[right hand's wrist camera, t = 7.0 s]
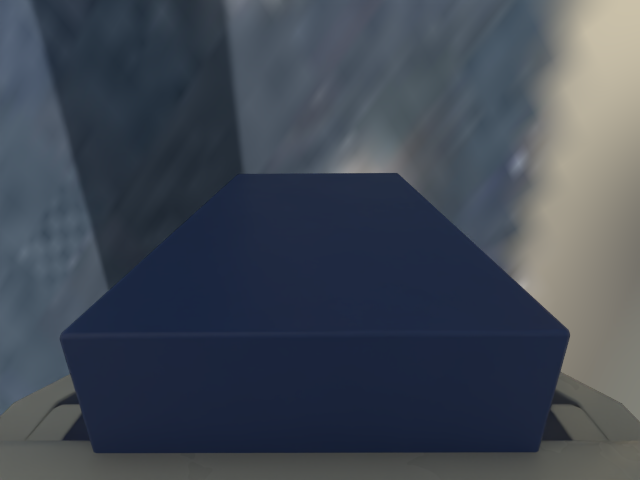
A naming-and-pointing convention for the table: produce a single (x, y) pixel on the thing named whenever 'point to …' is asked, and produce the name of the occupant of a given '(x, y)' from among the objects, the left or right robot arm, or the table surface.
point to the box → (316, 331)
